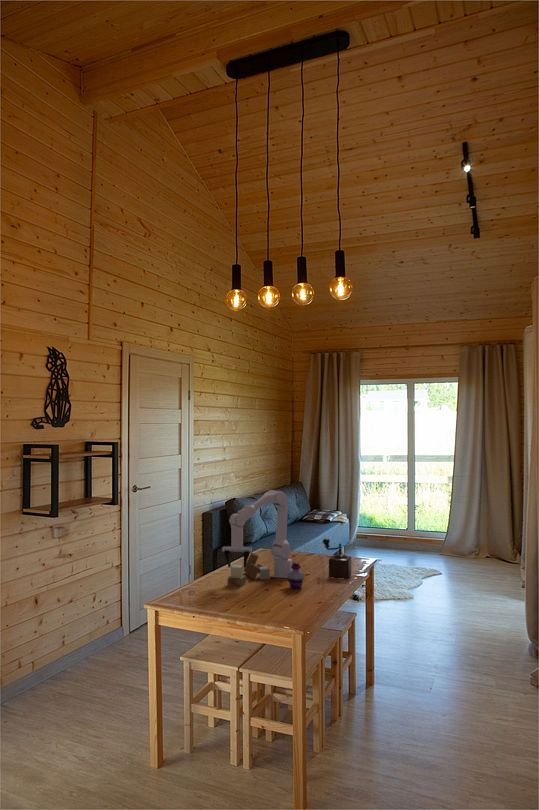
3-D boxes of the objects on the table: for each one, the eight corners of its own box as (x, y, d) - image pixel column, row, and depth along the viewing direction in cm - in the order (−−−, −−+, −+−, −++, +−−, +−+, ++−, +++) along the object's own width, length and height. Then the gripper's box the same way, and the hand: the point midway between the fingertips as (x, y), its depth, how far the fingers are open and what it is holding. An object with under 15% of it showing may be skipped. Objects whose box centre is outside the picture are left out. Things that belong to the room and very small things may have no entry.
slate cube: (269, 576, 277) (269, 566, 277) (269, 579, 272) (269, 569, 272) (259, 576, 277) (259, 566, 277) (259, 579, 272) (259, 569, 272)
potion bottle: (286, 585, 261) (286, 560, 262) (304, 585, 261) (304, 560, 262) (287, 590, 252) (287, 564, 253) (305, 590, 252) (305, 564, 253)
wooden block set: (256, 584, 271) (264, 565, 271) (241, 577, 272) (249, 558, 272) (259, 573, 289) (267, 555, 289) (244, 566, 290) (252, 549, 290)
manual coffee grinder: (352, 574, 282) (352, 539, 283) (348, 579, 272) (348, 543, 273) (323, 571, 287) (323, 537, 288) (318, 576, 277) (318, 541, 278)
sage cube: (242, 575, 265) (243, 565, 265) (240, 578, 260) (240, 567, 260) (233, 575, 265) (233, 564, 266) (230, 577, 261) (230, 567, 261)
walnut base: (246, 583, 264) (246, 575, 265) (241, 587, 258) (241, 579, 258) (232, 582, 266) (232, 574, 267) (227, 586, 260) (227, 577, 260)
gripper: (220, 539, 260) (220, 568, 260) (250, 540, 258) (250, 569, 258) (224, 536, 267) (224, 564, 267) (252, 537, 265) (252, 565, 265)
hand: (237, 566), depth 263 cm, fingers open, 7 cm apart
